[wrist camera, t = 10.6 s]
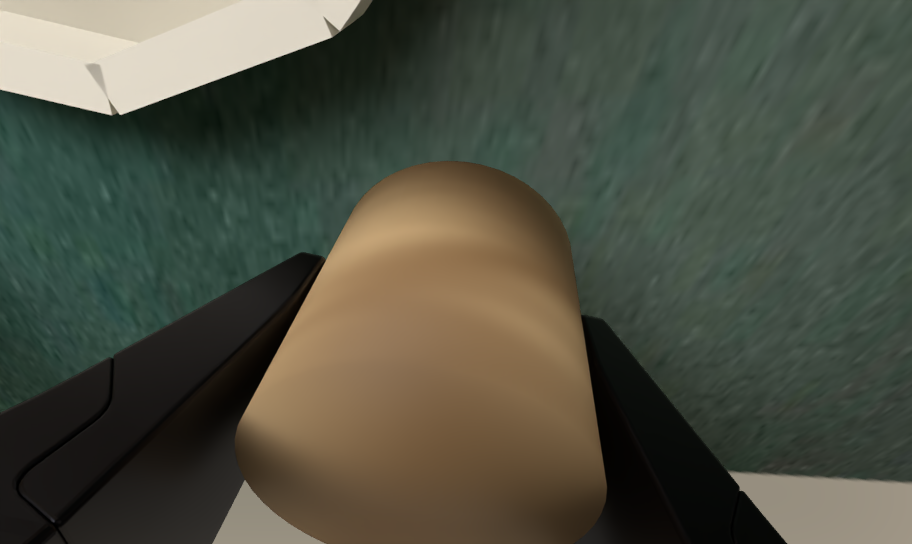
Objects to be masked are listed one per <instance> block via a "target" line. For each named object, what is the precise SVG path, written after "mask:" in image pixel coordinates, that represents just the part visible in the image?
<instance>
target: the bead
mask: <svg viewBox="0 0 912 544" xmlns="http://www.w3.org/2000/svg"><path fill="white" fill-rule="evenodd" d="M235 454H236V458H237V462H238V466H239V468H240V470H241V472H242V474H243V477H244V479H245V480H246V482H247V483H248V484H249V486H250V487H251V489H252V490H253V491H254V493H255V494H256V495H257V496H258V497H259V498H260V499H261V500H262V502H263V503H264V504H266V505H267V506H268V507H269V508H270V509H271V510H272V511H273V512H275V513H276V514H277V515H278V516H280V517H281V518H282V519H284V520H285V521H287V522H288V523H289V524H291V525H293V526H294V527H296V528H297V529H299V530H301V531H302V532H304V533H306V534H308V535H310V536H312V537H314V538H316V539H318V540H320V541H322V542H324V543H326V544H574V543H575V542H576V541H578V540H579V539H580V538H582V537H583V536H584V535H585V534H586V533H587V532H588V531H589V530H590V529H591V528H592V527H593V526H594V524H595V523H596V521H597V520H598V518H599V517H600V515H601V513H602V510H603V507H604V505H605V502H606V493H607V484H606V478H605V471H604V464H603V458H602V451H601V445H600V438H599V431H598V425H597V418H596V411H595V405H594V398H593V392H592V385H591V378H590V372H589V365H588V358H587V352H586V345H585V339H584V332H583V325H582V319H581V312H580V305H579V299H578V292H577V286H576V279H575V272H574V266H573V259H572V253H571V246H570V242H569V239H568V235H567V232H566V230H565V228H564V226H563V224H562V222H561V220H560V218H559V217H558V215H557V214H556V212H555V211H554V210H553V208H552V207H551V206H550V205H549V204H548V202H547V201H546V200H545V199H544V198H543V197H542V196H541V195H540V194H538V193H537V192H536V191H535V190H533V189H532V188H531V187H530V186H528V185H527V184H525V183H524V182H522V181H520V180H519V179H517V178H515V177H514V176H511V175H509V174H507V173H504V172H502V171H500V170H498V169H494V168H491V167H487V166H484V165H480V164H474V163H468V162H458V161H441V162H429V163H424V164H420V165H415V166H412V167H409V168H406V169H403V170H400V171H398V172H396V173H394V174H392V175H390V176H388V177H386V178H384V179H383V180H382V181H380V182H379V183H377V184H376V185H374V186H373V187H372V188H371V189H370V190H369V191H368V192H367V193H366V194H365V195H364V196H363V197H362V198H361V199H360V201H359V202H358V203H357V205H356V206H355V208H354V209H353V211H352V213H351V215H350V217H349V219H348V221H347V222H346V224H345V226H344V228H343V230H342V232H341V234H340V236H339V237H338V239H337V241H336V243H335V245H334V247H333V249H332V250H331V252H330V254H329V256H328V258H327V260H326V262H325V263H324V265H323V267H322V269H321V271H320V273H319V275H318V276H317V278H316V280H315V282H314V284H313V286H312V288H311V290H310V291H309V293H308V295H307V297H306V299H305V301H304V303H303V304H302V306H301V308H300V310H299V312H298V314H297V316H296V317H295V319H294V321H293V323H292V325H291V327H290V329H289V330H288V332H287V334H286V336H285V338H284V340H283V342H282V344H281V345H280V347H279V349H278V351H277V353H276V355H275V357H274V358H273V360H272V362H271V364H270V366H269V368H268V370H267V371H266V373H265V375H264V377H263V379H262V381H261V383H260V384H259V386H258V388H257V390H256V392H255V394H254V396H253V398H252V399H251V401H250V403H249V405H248V407H247V409H246V411H245V412H244V414H243V416H242V418H241V420H240V422H239V424H238V427H237V431H236V435H235Z"/></svg>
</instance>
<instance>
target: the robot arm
mask: <svg viewBox="0 0 912 544" xmlns="http://www.w3.org/2000/svg"><path fill="white" fill-rule="evenodd" d="M325 262H326V260H325V258H324V257H323V256H319V255H314V254H310V253H306V252H301V253H298V254H297V255H295V256H293V257H291V258H289V259H287V260H286V261H284V262H282V263H280V264H278V265H276V266H275V267H273V268H271V269H269V270H267V271H265V272H264V273H262V274H260V275H258V276H256V277H255V278H253V279H251V280H249V281H247V282H245V283H244V284H242V285H240V286H238V287H236V288H234V289H233V290H231V291H229V292H227V293H225V294H223V295H222V296H220V297H218V298H216V299H214V300H213V301H211V302H209V303H207V304H205V305H203V306H202V307H200V308H198V309H196V310H194V311H192V312H191V313H189V314H187V315H185V316H183V317H182V318H180V319H178V320H176V321H174V322H172V323H171V324H169V325H167V326H165V327H163V328H161V329H160V330H158V331H156V332H154V333H152V334H150V335H149V336H147V337H145V338H143V339H141V340H140V341H138V342H136V343H134V344H132V345H130V346H129V347H127V348H125V349H123V350H121V351H119V352H118V353H116V354H115V355H114V358H110V357H109V358H106V359H104V360H103V361H101V362H99V363H97V364H95V365H93V366H92V367H90V368H88V369H86V370H84V371H83V372H81V373H79V374H77V375H75V376H73V377H71V378H69V379H67V380H65V381H63V382H61V383H60V384H58V385H56V386H54V387H52V388H50V389H48V390H46V391H44V392H42V393H40V394H39V395H36V396H34V397H32V398H30V399H28V400H26V401H24V402H22V403H20V404H18V405H16V406H13V407H11V408H9V409H7V410H5V411H3V412H1V413H0V544H212V543H213V541H214V539H215V537H216V535H217V533H218V531H219V529H220V528H221V525H222V523H223V522H224V520H225V517H226V516H227V514H228V511H229V510H230V508H231V506H232V504H233V502H234V500H235V498H236V496H237V494H238V492H239V490H240V488H241V486H242V484H243V482H244V480H245V479H244V477H243V474H242V472H241V470H240V468H239V466H238V462H237V458H236V454H235V435H236V431H237V427H238V424H239V422H240V420H241V418H242V416H243V414H244V412H245V411H246V409H247V407H248V405H249V403H250V401H251V399H252V398H253V396H254V394H255V392H256V390H257V388H258V386H259V384H260V383H261V381H262V379H263V377H264V375H265V373H266V371H267V370H268V368H269V366H270V364H271V362H272V360H273V358H274V357H275V355H276V353H277V351H278V349H279V347H280V345H281V344H282V342H283V340H284V338H285V336H286V334H287V332H288V330H289V329H290V327H291V325H292V323H293V321H294V319H295V317H296V316H297V314H298V312H299V310H300V308H301V306H302V304H303V303H304V301H305V299H306V297H307V295H308V293H309V291H310V290H311V288H312V286H313V284H314V282H315V280H316V278H317V276H318V275H319V273H320V271H321V269H322V267H323V265H324V263H325ZM581 319H582V325H583V332H584V339H585V345H586V352H587V358H588V365H589V372H590V378H591V385H592V392H593V398H594V405H595V411H596V418H597V425H598V431H599V438H600V445H601V451H602V458H603V464H604V471H605V478H606V484H607V493H606V502H605V505H604V507H603V510H602V513H601V515H600V517H599V518H598V520H597V521H596V523H595V524H594V526H593V527H592V528H591V529H590V530H589V531H588V532H587V533H586V534H585V535H584V536H583V537H582V538H580V539H579V540H578V541H576V542H575V543H574V544H787V543H786V542H785V541H784V539H783V538H782V537H781V536H780V535H779V533H778V532H777V531H776V530H775V529H774V527H772V525H771V524H770V523H769V522H768V520H767V519H766V518H765V517H764V516H763V515H762V513H761V512H760V511H759V509H758V508H757V507H756V506H755V505H754V504H753V502H752V501H751V500H750V498H749V497H748V496H747V495H746V494H745V492H743V491H739V490H740V488H739V485H738V484H737V483H736V482H735V481H734V479H733V478H732V477H731V475H730V474H729V473H728V472H727V470H726V469H725V468H724V467H723V466H722V464H721V463H720V462H719V461H718V459H717V458H716V457H715V456H714V454H713V453H712V452H711V451H710V450H709V448H708V447H707V446H706V445H705V443H704V442H703V441H702V440H701V439H700V437H699V436H698V435H697V434H696V432H695V431H694V430H693V429H692V427H691V426H690V425H689V424H688V423H687V421H686V420H685V419H684V418H683V416H682V415H681V414H680V413H679V412H678V410H677V409H676V408H675V407H674V405H673V404H672V403H671V402H670V400H669V399H668V398H667V397H666V396H665V394H664V393H663V392H662V391H661V389H660V388H659V387H658V386H657V384H656V383H655V382H654V381H653V380H652V378H651V377H650V376H649V375H648V373H647V372H646V371H645V370H644V369H643V367H642V366H641V365H640V364H639V362H638V361H637V360H636V359H635V357H634V356H633V355H632V354H631V353H630V351H629V350H628V349H627V348H626V346H625V345H624V344H623V343H622V341H621V340H620V339H619V338H618V337H617V335H616V334H615V333H614V332H613V330H612V329H611V328H610V327H609V326H608V324H607V323H606V322H605V321H604V320H603V319H600V318H596V317H592V316H587V315H581Z"/></svg>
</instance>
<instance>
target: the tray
mask: <svg viewBox="0 0 912 544" xmlns="http://www.w3.org/2000/svg"><path fill="white" fill-rule="evenodd" d="M372 1H373V0H0V90H4V91H9V92H13V93H17V94H22V95H26V96H30V97H35V98H39V99H43V100H48V101H52V102H56V103H61V104H65V105H69V106H73V107H78V108H82V109H86V110H91V111H95V112H99V113H104V114H108V115H114V114H116V113H119V114H120V115H122V114H125V113H128V112H130V111H133V110H136V109H139V108H141V107H144V106H147V105H149V104H152V103H155V102H158V101H160V100H163V99H166V98H168V97H171V96H174V95H177V94H179V93H182V92H185V91H188V90H190V89H193V88H196V87H198V86H201V85H204V84H207V83H209V82H212V81H215V80H217V79H220V78H223V77H226V76H228V75H231V74H234V73H237V72H239V71H242V70H245V69H247V68H250V67H253V66H256V65H258V64H261V63H264V62H266V61H269V60H272V59H275V58H277V57H280V56H283V55H286V54H288V53H291V52H294V51H296V50H299V49H302V48H305V47H307V46H310V45H313V44H315V43H318V42H321V41H324V40H326V39H329V38H332V37H333V36H335V35H336V34H338V33H339V32H340V31H342V30H343V29H344V28H346V27H347V26H349V25H350V24H351V23H353V22H354V21H355V20H356V19H358V18H359V17H360V16H362V15H363V14H364V12H365V11H366V9H367V8H368V7H369V5H370V4H371V2H372Z"/></svg>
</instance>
